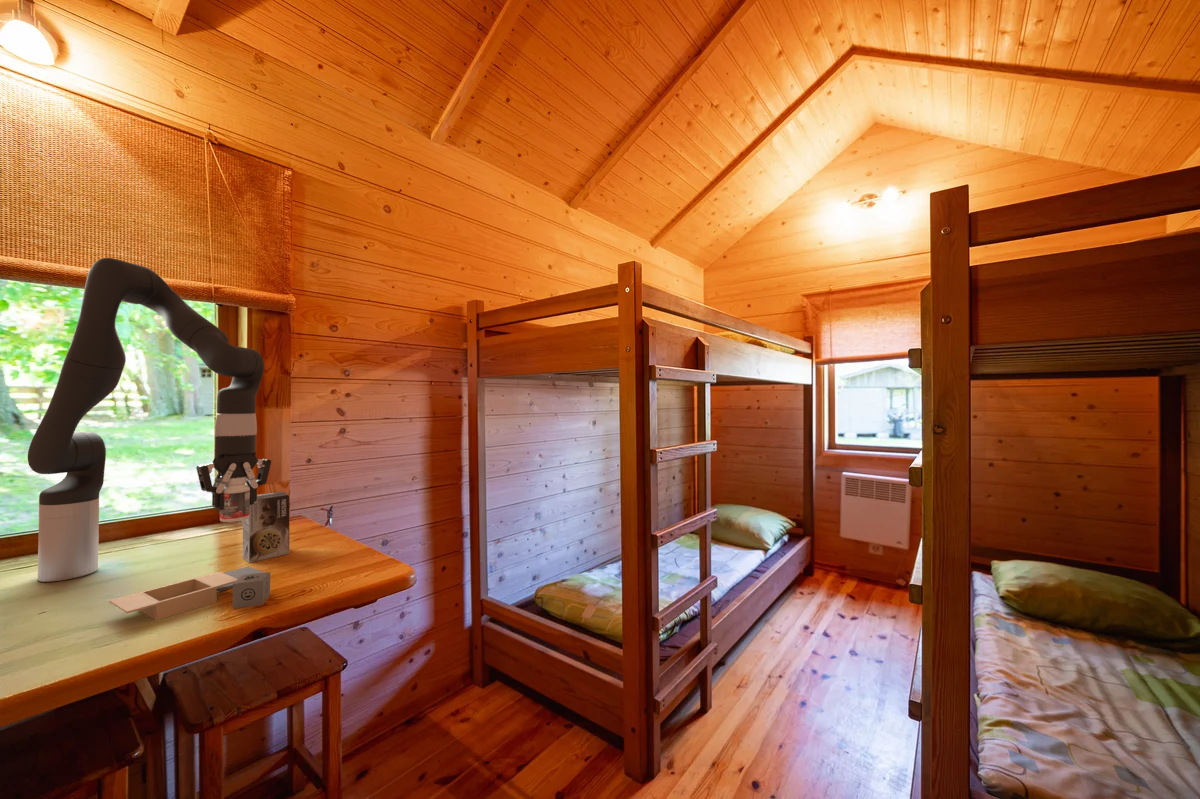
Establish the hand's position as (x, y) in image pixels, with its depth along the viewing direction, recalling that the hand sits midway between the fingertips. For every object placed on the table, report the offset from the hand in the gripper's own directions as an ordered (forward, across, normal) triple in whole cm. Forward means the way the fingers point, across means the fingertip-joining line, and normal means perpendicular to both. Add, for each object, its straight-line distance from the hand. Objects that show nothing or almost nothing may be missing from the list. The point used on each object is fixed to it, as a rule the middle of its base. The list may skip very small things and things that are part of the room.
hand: (234, 506), depth 105 cm
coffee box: (+17, -12, -12) cm, 24 cm away
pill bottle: (+3, 0, 0) cm, 3 cm away
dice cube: (+17, +4, +17) cm, 24 cm away
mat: (+17, 0, 0) cm, 17 cm away
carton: (+17, +12, +6) cm, 21 cm away
